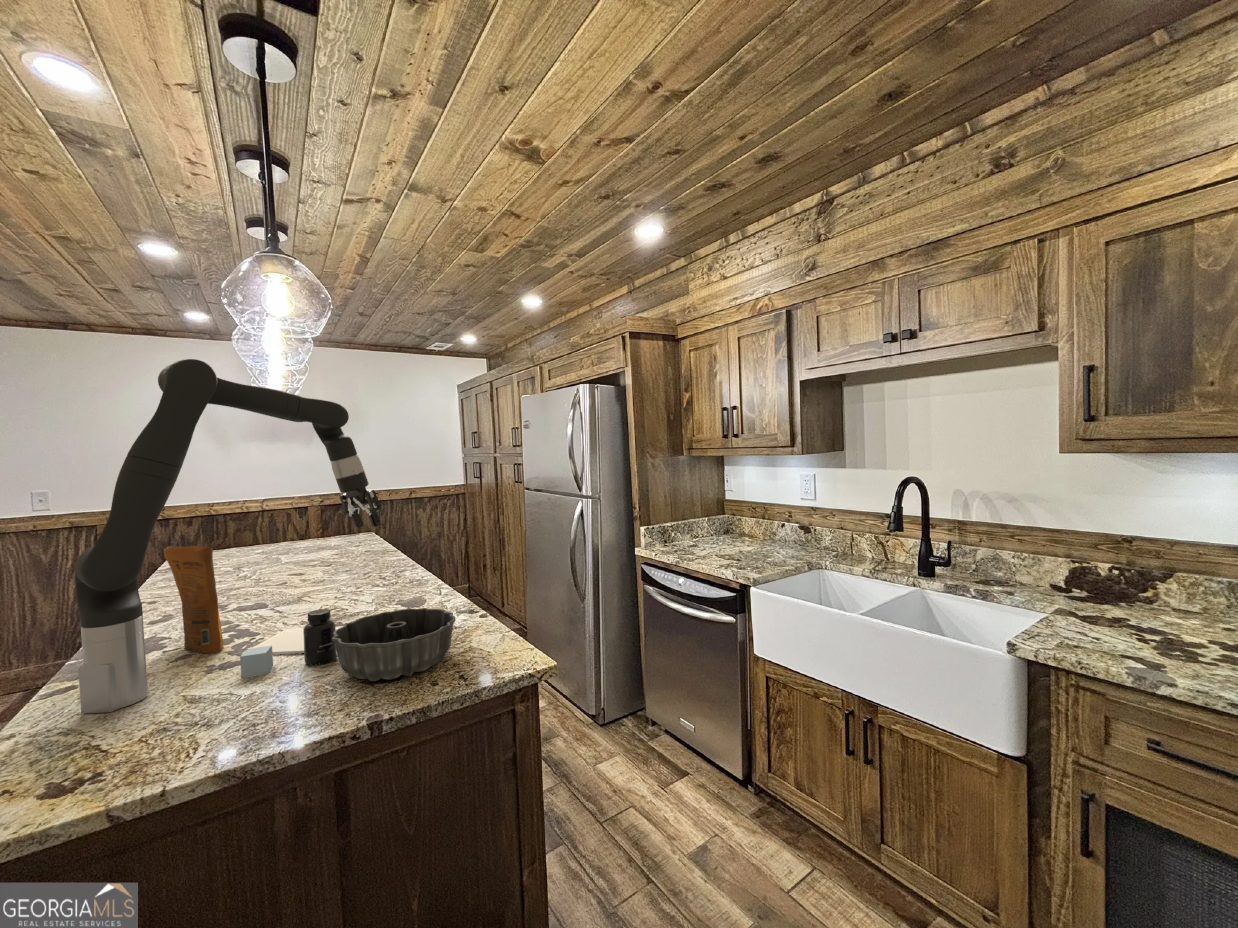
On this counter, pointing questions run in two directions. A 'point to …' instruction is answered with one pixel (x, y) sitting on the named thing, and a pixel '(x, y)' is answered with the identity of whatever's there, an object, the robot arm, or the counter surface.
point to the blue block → (256, 661)
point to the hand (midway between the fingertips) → (368, 526)
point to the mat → (286, 642)
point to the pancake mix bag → (197, 596)
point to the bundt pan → (394, 643)
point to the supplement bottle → (319, 638)
